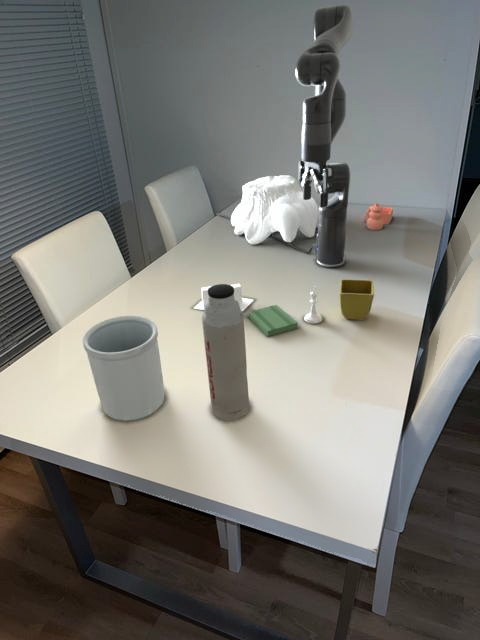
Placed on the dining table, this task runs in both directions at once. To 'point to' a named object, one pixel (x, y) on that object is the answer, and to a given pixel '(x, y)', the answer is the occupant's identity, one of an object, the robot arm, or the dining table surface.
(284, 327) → the green flat rectangular block
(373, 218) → the pottery
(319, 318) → the chess piece
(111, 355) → the utensil holder
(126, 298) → the dining table surface
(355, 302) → the flower pot
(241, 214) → the tree stump
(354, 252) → the dining table surface
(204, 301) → the napkin holder
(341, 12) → the robot arm
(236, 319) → the thermos bottle
